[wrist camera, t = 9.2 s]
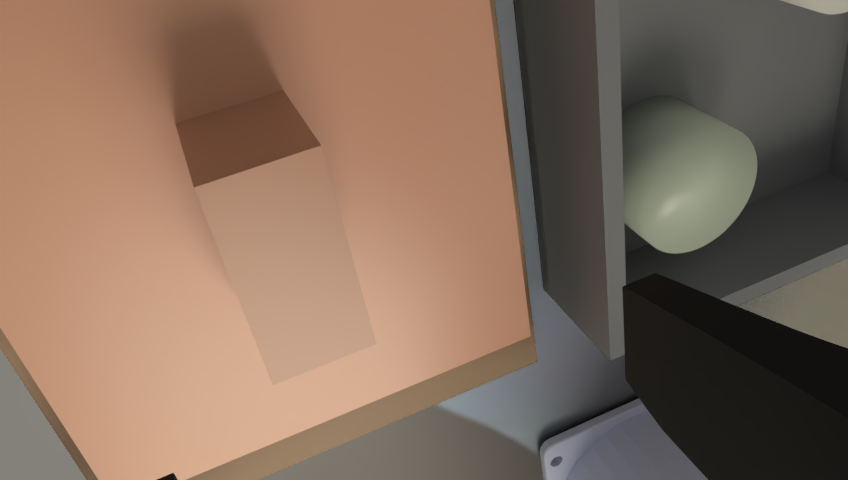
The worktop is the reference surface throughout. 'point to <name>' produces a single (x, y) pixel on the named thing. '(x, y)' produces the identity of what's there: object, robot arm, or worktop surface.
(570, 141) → the storage box
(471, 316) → the lid
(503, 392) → the worktop surface
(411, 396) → the cutting board
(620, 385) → the worktop surface
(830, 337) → the worktop surface
